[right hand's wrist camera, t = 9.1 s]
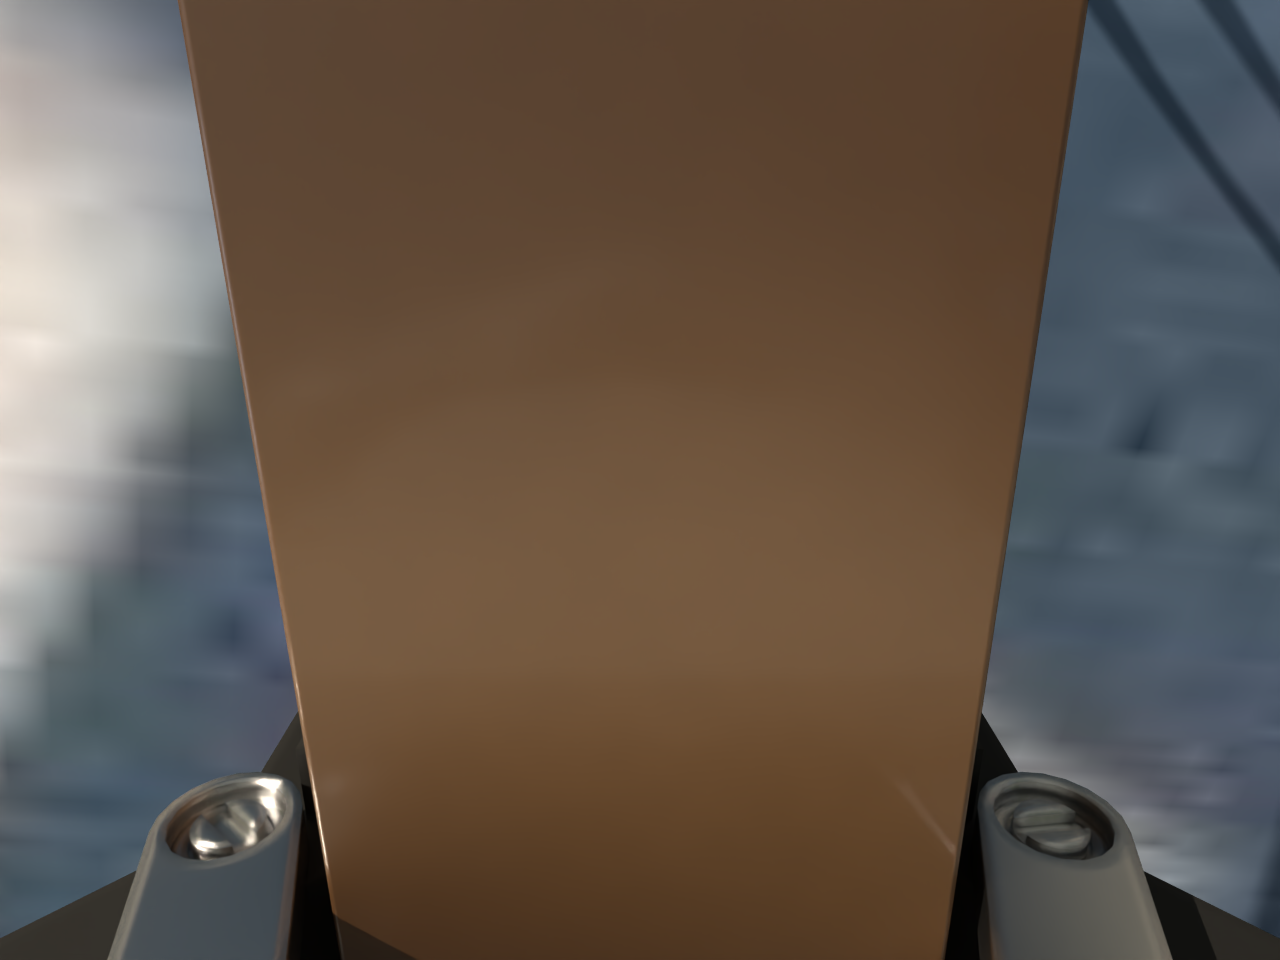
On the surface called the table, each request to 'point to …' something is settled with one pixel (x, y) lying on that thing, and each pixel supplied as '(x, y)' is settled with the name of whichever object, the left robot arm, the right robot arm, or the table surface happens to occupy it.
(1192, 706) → the table surface
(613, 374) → the post
